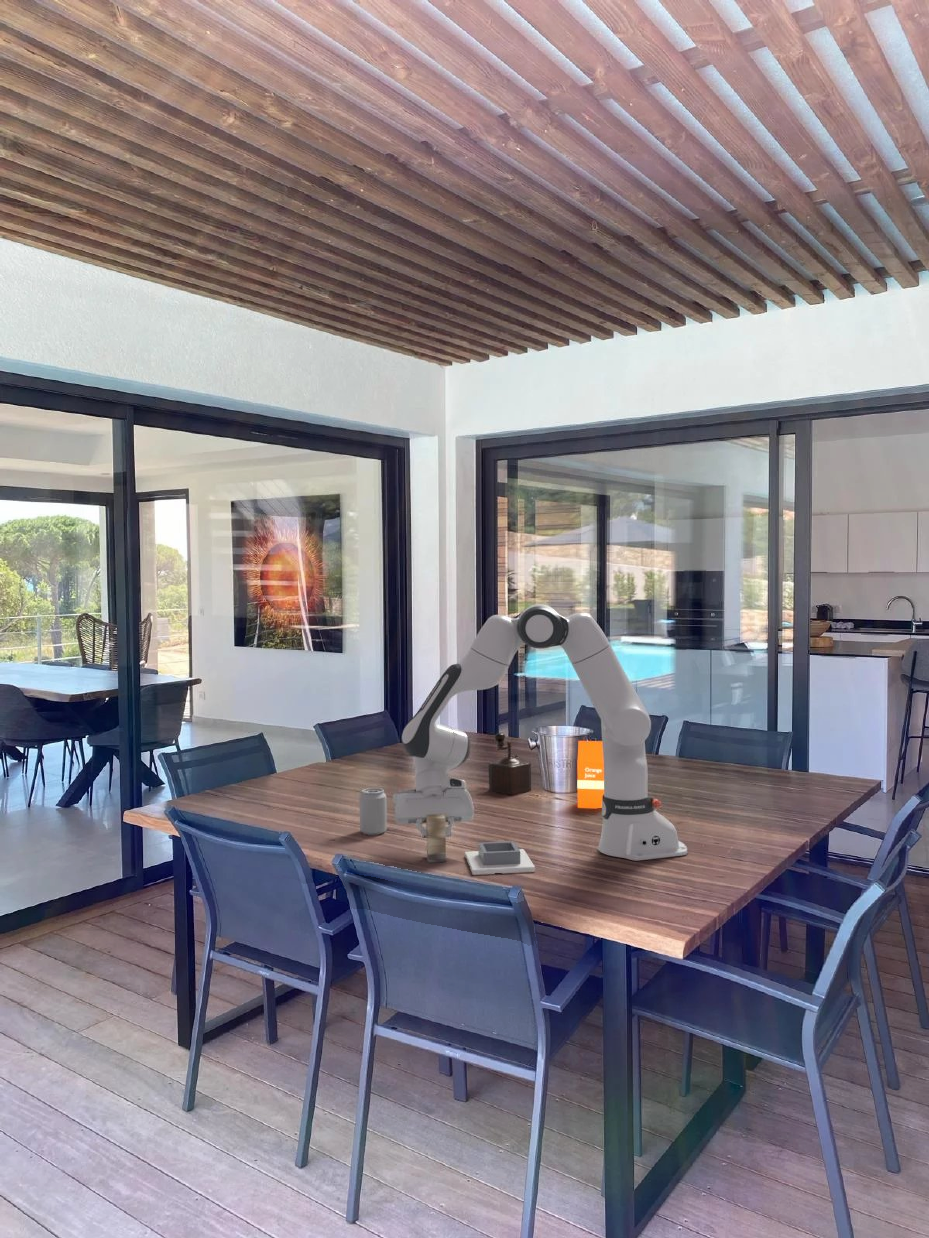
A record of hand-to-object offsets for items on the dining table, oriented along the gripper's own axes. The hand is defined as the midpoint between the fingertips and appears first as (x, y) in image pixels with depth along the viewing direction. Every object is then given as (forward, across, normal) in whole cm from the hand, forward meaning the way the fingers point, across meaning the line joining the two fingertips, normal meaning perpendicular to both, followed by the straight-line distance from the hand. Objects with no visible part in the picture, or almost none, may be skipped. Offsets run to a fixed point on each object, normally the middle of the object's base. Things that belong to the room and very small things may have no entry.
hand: (436, 836), depth 231 cm
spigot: (+4, 0, +5) cm, 6 cm away
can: (-16, -15, +25) cm, 33 cm away
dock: (+8, +15, 0) cm, 17 cm away
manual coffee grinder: (-48, +30, +57) cm, 81 cm away
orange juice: (-30, +53, +39) cm, 72 cm away
